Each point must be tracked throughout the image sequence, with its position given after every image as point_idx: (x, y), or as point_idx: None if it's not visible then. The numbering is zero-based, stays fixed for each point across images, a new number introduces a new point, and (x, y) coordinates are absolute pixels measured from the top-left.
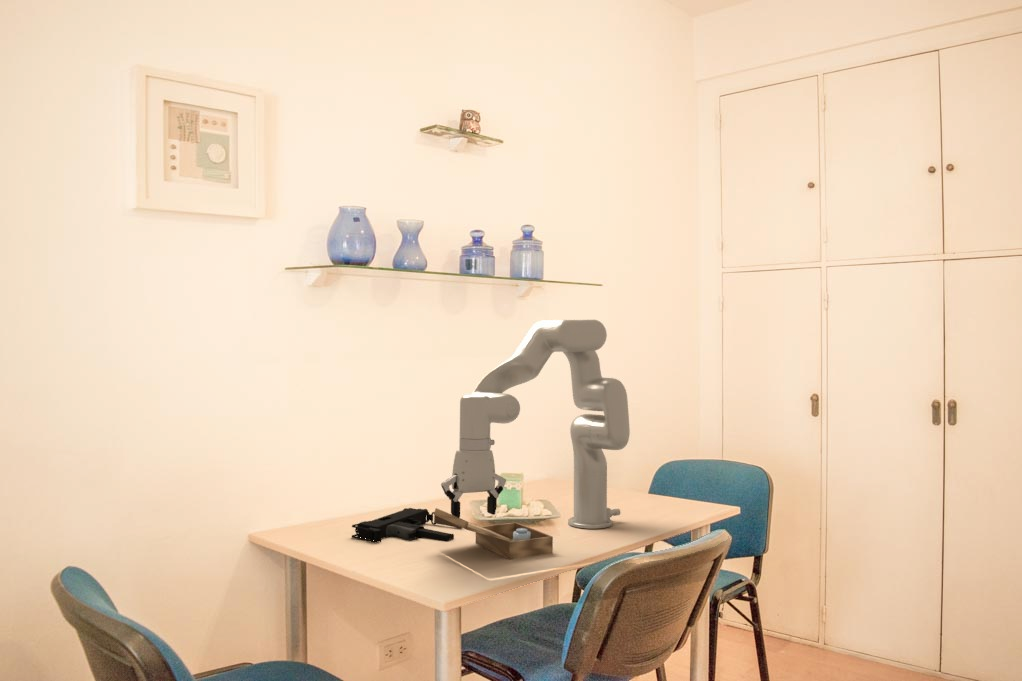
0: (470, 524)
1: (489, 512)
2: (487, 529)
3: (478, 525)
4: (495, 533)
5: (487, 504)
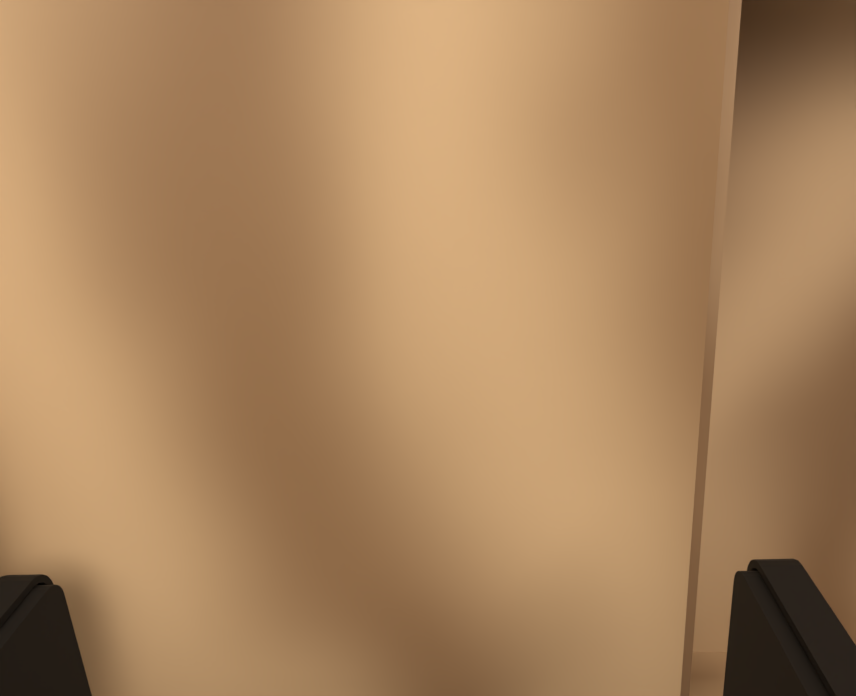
0: (442, 361)
1: (730, 650)
2: (681, 385)
3: (705, 82)
4: (626, 653)
5: (794, 687)
